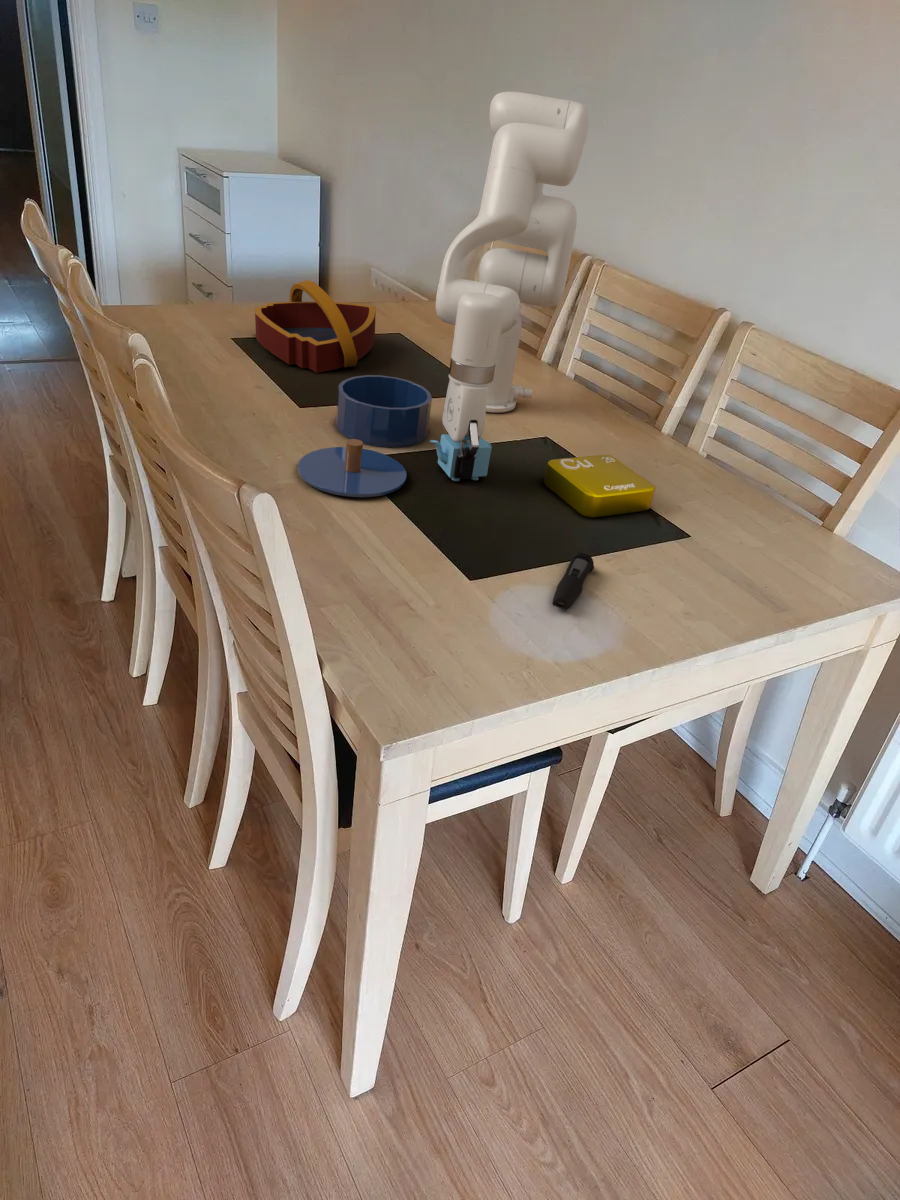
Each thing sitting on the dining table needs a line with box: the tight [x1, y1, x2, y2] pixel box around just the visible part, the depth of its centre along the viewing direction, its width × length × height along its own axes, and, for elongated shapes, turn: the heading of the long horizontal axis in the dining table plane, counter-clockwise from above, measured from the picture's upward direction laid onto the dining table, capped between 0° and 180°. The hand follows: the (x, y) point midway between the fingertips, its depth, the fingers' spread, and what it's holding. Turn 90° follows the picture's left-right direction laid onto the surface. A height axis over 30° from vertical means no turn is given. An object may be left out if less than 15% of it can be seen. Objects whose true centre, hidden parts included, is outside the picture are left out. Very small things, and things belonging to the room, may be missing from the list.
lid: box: [297, 438, 407, 498], centre depth 148 cm, size 19×19×6 cm
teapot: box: [429, 433, 493, 482], centre depth 154 cm, size 12×6×8 cm, turn 111°
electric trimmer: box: [551, 552, 595, 611], centre depth 127 cm, size 4×16×3 cm, turn 159°
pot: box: [335, 374, 433, 448], centre depth 167 cm, size 18×18×8 cm
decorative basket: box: [254, 279, 377, 374], centre depth 200 cm, size 34×29×15 cm
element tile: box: [543, 454, 656, 519], centre depth 154 cm, size 15×15×5 cm
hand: (457, 467), depth 155 cm, fingers open, 6 cm apart
